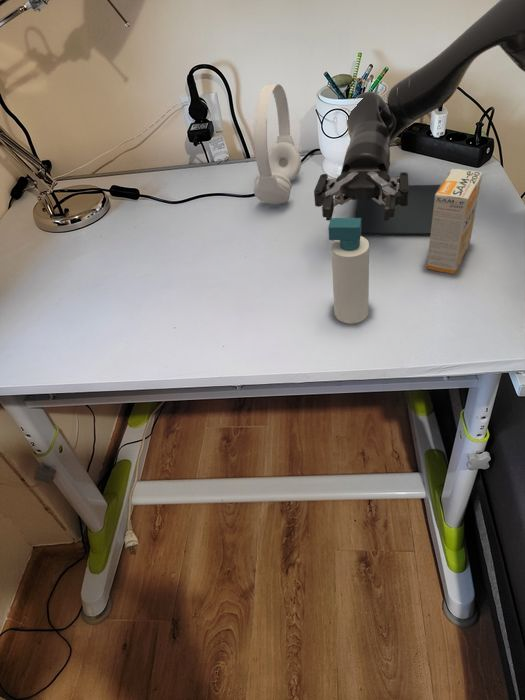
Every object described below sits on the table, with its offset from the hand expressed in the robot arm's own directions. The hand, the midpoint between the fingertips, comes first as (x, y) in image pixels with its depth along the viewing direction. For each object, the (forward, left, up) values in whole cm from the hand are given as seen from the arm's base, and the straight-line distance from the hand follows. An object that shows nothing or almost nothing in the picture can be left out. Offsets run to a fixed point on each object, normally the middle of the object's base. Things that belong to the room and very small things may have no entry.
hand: (357, 215), depth 75 cm
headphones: (+18, -25, -11) cm, 33 cm away
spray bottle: (0, +10, -11) cm, 14 cm away
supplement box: (-14, -4, -11) cm, 18 cm away
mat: (-6, -18, -11) cm, 22 cm away
